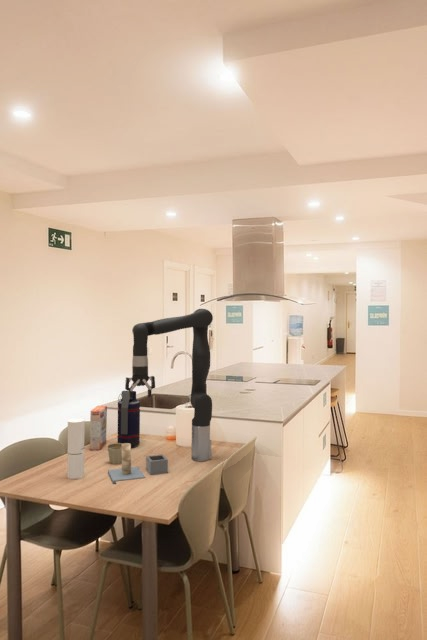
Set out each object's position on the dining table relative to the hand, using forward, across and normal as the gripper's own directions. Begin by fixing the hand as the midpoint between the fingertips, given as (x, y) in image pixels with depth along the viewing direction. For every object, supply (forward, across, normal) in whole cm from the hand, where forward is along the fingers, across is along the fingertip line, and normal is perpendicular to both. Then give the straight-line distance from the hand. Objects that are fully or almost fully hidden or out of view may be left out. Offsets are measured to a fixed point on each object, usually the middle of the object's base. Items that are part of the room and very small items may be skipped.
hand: (140, 398), depth 231 cm
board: (+31, +11, +17) cm, 37 cm away
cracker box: (+32, +15, -33) cm, 48 cm away
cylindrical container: (+31, +32, +9) cm, 45 cm away
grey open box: (+32, -3, +17) cm, 36 cm away
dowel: (+30, +11, +17) cm, 36 cm away
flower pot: (+32, +11, -2) cm, 34 cm away
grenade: (+32, 0, -29) cm, 43 cm away
